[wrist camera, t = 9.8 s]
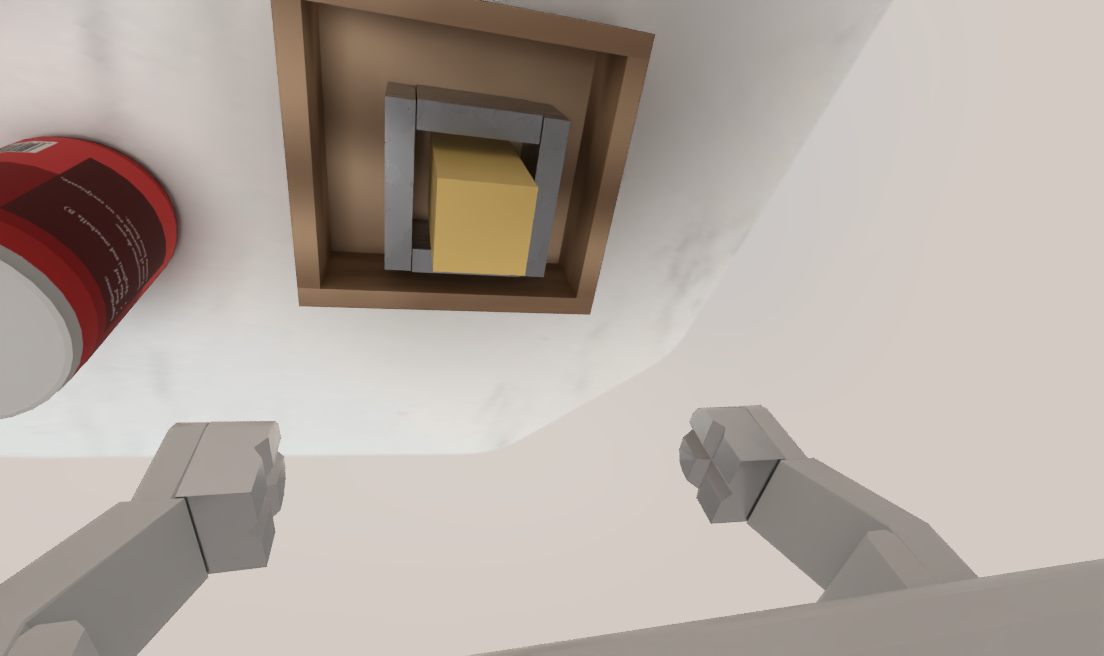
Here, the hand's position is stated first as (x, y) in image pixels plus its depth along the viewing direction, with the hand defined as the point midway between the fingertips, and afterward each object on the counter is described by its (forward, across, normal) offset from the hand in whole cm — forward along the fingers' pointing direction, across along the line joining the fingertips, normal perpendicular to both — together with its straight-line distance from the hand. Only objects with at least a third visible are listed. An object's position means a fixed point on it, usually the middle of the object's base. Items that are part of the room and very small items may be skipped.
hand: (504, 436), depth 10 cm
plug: (+21, -1, +1) cm, 21 cm away
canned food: (+22, +17, +5) cm, 28 cm away
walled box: (+22, -1, 0) cm, 22 cm away
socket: (+21, -1, +1) cm, 21 cm away
